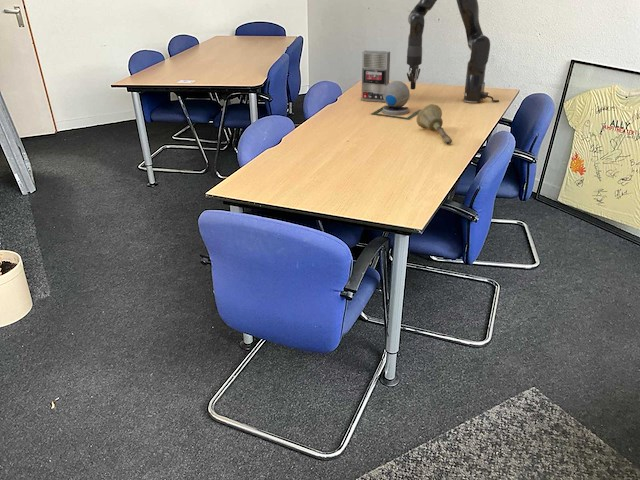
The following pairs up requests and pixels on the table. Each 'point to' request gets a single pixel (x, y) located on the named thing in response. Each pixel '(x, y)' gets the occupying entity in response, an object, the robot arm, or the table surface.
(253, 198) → the table surface
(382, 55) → the cassette tape recorder
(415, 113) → the tape bay
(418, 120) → the handbell
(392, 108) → the webcam
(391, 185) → the table surface
